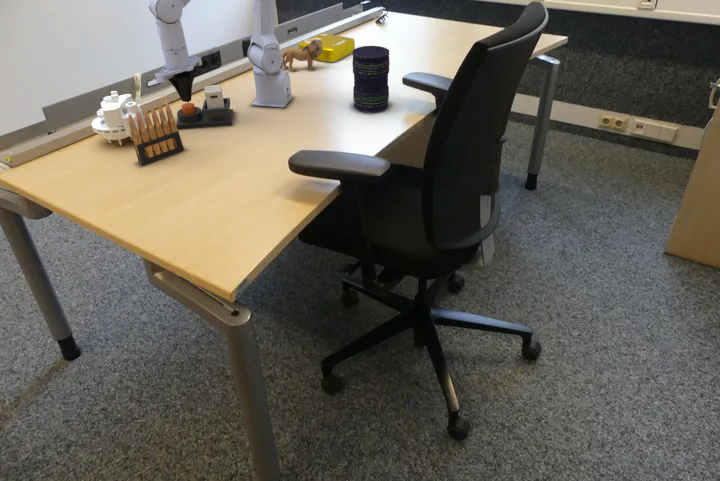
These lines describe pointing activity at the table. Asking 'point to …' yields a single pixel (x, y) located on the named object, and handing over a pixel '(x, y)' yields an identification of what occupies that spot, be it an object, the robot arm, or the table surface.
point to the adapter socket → (216, 111)
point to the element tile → (332, 46)
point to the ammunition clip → (155, 136)
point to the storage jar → (371, 78)
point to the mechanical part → (116, 117)
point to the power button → (188, 108)
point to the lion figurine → (303, 54)
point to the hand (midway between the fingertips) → (186, 100)
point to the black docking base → (202, 119)
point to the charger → (214, 97)
